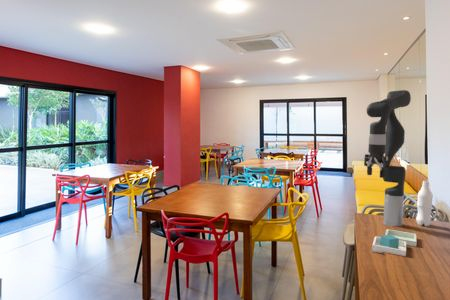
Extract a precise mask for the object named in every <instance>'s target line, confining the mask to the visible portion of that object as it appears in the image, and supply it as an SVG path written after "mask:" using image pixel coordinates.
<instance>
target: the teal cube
mask: <svg viewBox="0 0 450 300" xmlns="http://www.w3.org/2000/svg"><path fill="white" fill-rule="evenodd" d="M380 237H381V241H380V246H385V247H390V248H396V249H398V248H399V238H397V237H394V236H392V235H385V234H383V235H382V234H381V235H380Z"/></svg>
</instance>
